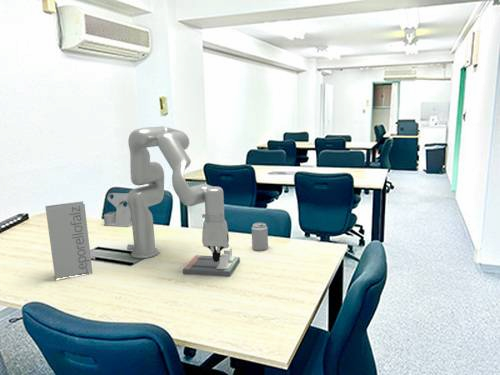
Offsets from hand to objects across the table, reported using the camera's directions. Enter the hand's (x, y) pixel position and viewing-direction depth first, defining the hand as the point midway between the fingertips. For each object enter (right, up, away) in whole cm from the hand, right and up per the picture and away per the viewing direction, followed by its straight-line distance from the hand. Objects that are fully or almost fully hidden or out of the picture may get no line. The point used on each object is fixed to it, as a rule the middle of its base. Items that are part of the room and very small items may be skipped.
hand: (216, 260), depth 171 cm
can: (+18, +1, +27) cm, 32 cm away
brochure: (-60, -7, +3) cm, 60 cm away
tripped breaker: (+3, -3, 0) cm, 4 cm away
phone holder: (-63, +8, +77) cm, 100 cm away
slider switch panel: (-2, -4, +6) cm, 7 cm away
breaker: (+4, -1, +8) cm, 9 cm away
